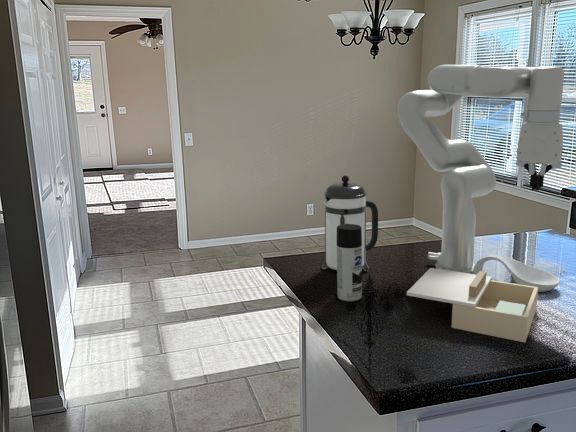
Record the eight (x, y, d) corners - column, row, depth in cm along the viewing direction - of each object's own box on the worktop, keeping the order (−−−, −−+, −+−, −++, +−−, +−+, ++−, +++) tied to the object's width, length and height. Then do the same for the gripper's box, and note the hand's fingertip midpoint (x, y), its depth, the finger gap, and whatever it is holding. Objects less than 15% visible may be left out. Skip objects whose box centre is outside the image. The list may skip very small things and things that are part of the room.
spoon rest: (565, 288, 146) (567, 264, 144) (548, 300, 138) (551, 275, 136) (484, 269, 163) (485, 247, 161) (465, 279, 155) (466, 256, 153)
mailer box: (451, 327, 124) (452, 303, 122) (470, 298, 140) (471, 277, 139) (525, 342, 116) (527, 317, 114) (536, 309, 132) (538, 287, 131)
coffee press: (368, 280, 155) (369, 180, 148) (316, 275, 160) (314, 178, 153) (377, 262, 171) (379, 171, 164) (330, 258, 176) (329, 169, 169)
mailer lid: (406, 295, 128) (407, 282, 127) (430, 270, 144) (430, 258, 144) (474, 307, 120) (475, 293, 119) (491, 279, 136) (492, 267, 136)
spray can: (355, 303, 139) (355, 230, 134) (332, 299, 142) (332, 227, 138) (365, 295, 144) (366, 224, 140) (343, 291, 148) (343, 222, 143)
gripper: (508, 118, 132) (502, 189, 137) (575, 119, 124) (566, 195, 129) (514, 116, 139) (508, 184, 143) (578, 117, 131) (569, 189, 135)
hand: (535, 189), depth 136 cm, fingers closed
